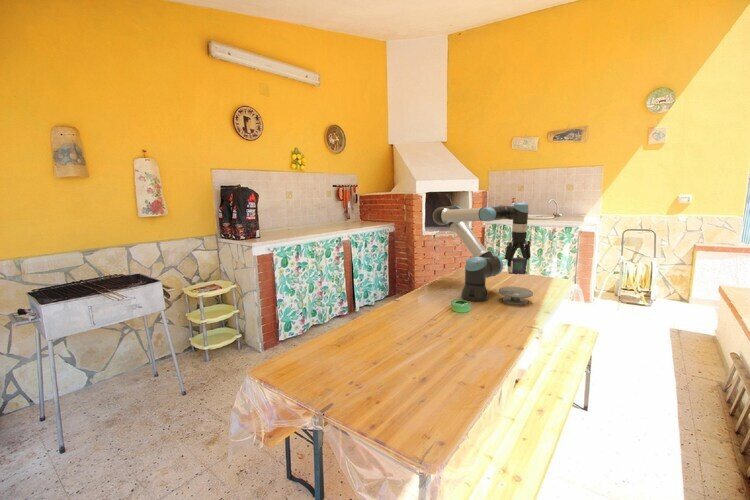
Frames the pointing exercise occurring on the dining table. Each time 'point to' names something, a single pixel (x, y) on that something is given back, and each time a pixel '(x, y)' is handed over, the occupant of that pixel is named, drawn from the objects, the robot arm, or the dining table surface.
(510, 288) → the cake stand
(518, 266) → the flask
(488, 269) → the robot arm
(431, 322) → the dining table surface
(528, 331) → the dining table surface
